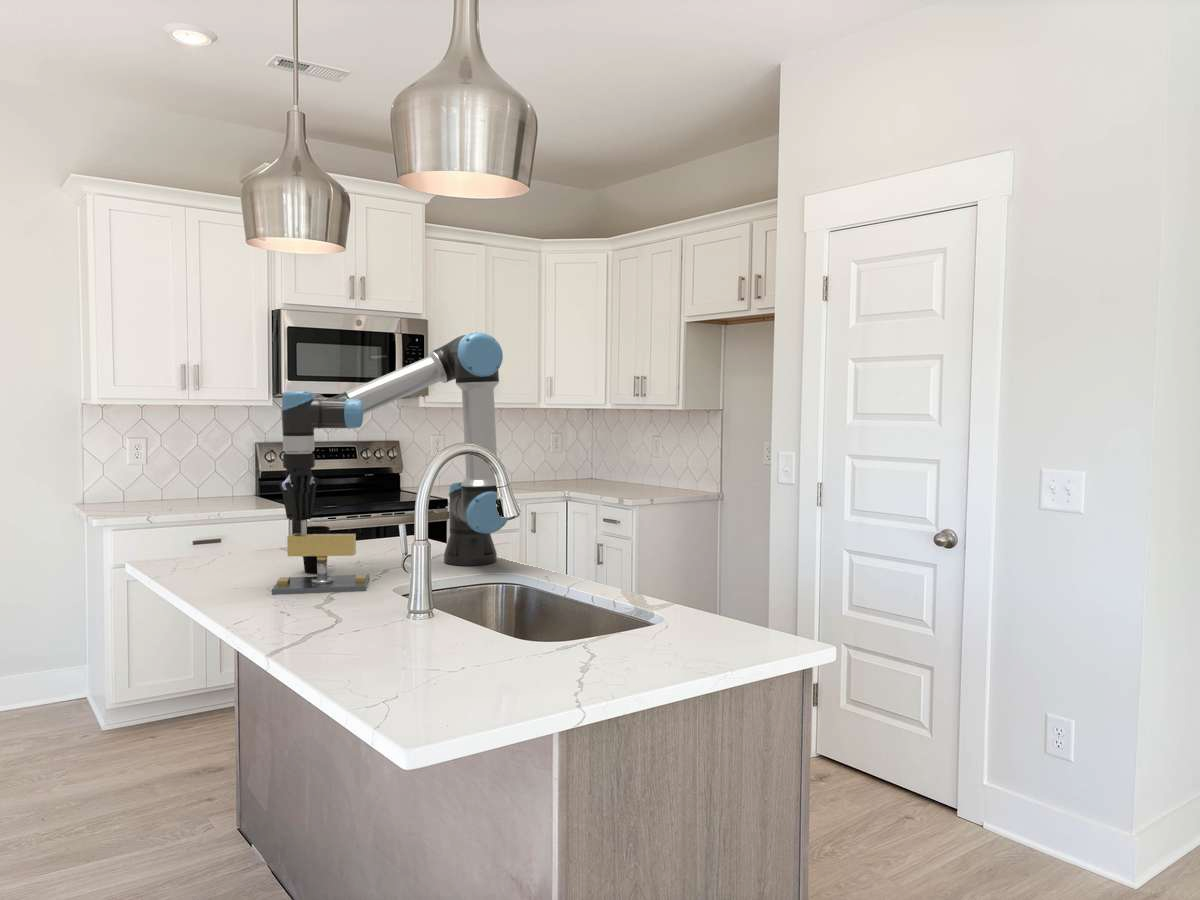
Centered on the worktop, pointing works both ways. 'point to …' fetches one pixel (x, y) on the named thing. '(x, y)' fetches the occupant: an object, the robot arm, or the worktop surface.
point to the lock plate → (321, 583)
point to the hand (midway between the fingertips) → (300, 545)
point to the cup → (311, 561)
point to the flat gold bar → (321, 545)
